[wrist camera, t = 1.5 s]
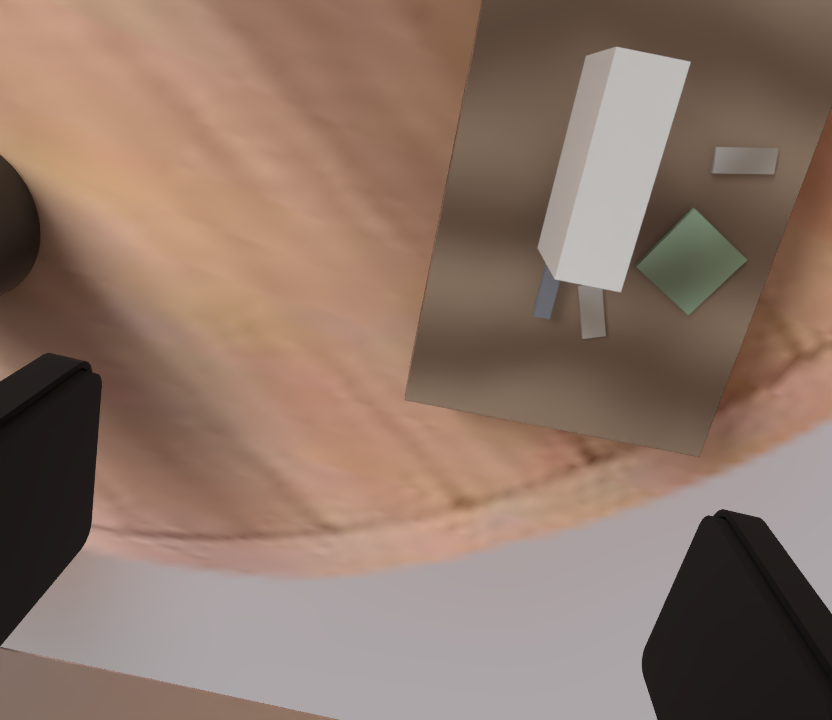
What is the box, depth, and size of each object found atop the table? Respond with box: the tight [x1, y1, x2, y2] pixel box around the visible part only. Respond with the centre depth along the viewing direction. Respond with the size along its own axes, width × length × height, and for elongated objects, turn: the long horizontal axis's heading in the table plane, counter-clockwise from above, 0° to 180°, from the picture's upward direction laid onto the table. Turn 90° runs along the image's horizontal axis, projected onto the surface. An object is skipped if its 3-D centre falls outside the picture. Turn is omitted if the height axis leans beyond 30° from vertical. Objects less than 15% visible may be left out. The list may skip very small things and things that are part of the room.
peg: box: [532, 47, 691, 319], centre depth 25 cm, size 10×2×7 cm, turn 169°
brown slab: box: [405, 0, 832, 457], centre depth 31 cm, size 20×14×5 cm
